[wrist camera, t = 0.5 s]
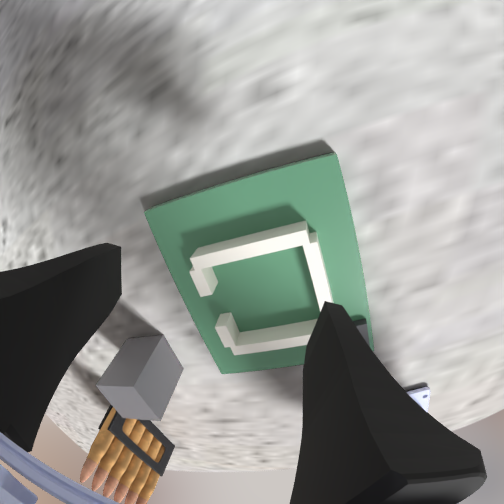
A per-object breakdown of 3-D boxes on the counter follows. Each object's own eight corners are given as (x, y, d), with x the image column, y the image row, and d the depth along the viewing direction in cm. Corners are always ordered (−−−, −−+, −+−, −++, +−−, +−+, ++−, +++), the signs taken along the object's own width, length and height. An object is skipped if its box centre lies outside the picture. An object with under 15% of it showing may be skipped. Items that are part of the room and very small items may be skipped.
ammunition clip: (115, 394, 30) (69, 475, 19) (126, 393, 30) (80, 479, 19) (164, 445, 34) (134, 519, 23) (175, 446, 33) (146, 522, 23)
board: (372, 342, 22) (377, 365, 19) (224, 365, 25) (217, 387, 22) (334, 151, 16) (339, 158, 14) (150, 207, 20) (132, 220, 17)
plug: (183, 368, 26) (160, 420, 20) (140, 370, 27) (114, 416, 22) (163, 334, 24) (133, 386, 19) (119, 339, 26) (87, 384, 20)
